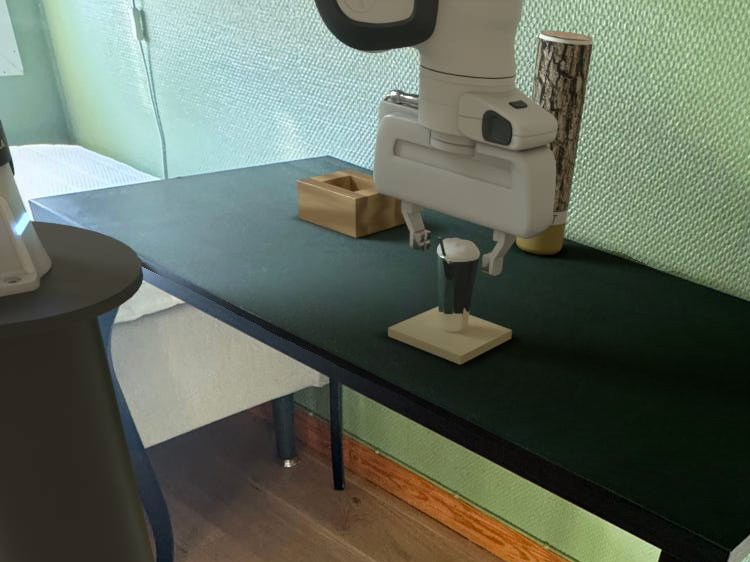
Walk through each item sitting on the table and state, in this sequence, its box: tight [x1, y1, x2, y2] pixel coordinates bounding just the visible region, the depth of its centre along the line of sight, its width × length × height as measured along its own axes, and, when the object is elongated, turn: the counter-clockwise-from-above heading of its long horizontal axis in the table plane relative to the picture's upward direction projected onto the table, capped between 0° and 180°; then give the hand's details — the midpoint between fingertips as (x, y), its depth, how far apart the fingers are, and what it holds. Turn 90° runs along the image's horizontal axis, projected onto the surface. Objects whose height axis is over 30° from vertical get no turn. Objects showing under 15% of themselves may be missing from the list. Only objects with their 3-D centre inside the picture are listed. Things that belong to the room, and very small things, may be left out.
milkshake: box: [436, 236, 481, 333], centre depth 86 cm, size 5×5×10 cm
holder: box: [296, 168, 406, 239], centre depth 116 cm, size 11×11×5 cm
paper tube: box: [515, 29, 594, 256], centre depth 108 cm, size 7×7×25 cm
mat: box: [387, 305, 513, 366], centre depth 90 cm, size 10×10×1 cm
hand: (454, 260), depth 85 cm, fingers open, 8 cm apart
